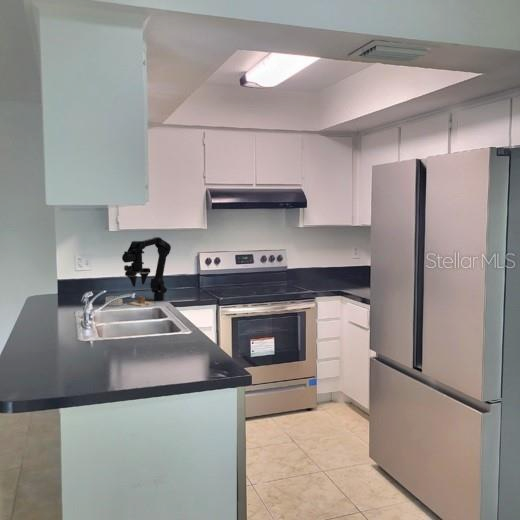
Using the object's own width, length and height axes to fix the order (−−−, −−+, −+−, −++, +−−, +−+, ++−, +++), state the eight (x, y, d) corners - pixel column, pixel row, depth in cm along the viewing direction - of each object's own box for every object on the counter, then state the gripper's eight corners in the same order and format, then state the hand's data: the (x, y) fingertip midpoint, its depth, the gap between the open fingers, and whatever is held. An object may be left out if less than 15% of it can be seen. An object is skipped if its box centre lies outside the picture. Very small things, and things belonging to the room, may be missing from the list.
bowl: (115, 303, 336) (114, 295, 335) (125, 304, 330) (125, 296, 330) (102, 305, 327) (102, 297, 327) (113, 306, 322) (113, 299, 321)
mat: (141, 301, 341) (141, 301, 341) (160, 304, 331) (160, 303, 331) (121, 305, 327) (121, 304, 327) (140, 308, 317) (140, 307, 317)
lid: (141, 301, 338) (141, 294, 338) (156, 303, 331) (155, 296, 330) (126, 304, 327) (126, 296, 327) (140, 306, 320) (140, 298, 320)
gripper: (136, 259, 337) (137, 282, 338) (117, 262, 320) (118, 287, 321) (150, 259, 332) (151, 283, 334) (132, 262, 315) (133, 288, 317)
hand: (138, 285), depth 327 cm, fingers open, 9 cm apart
